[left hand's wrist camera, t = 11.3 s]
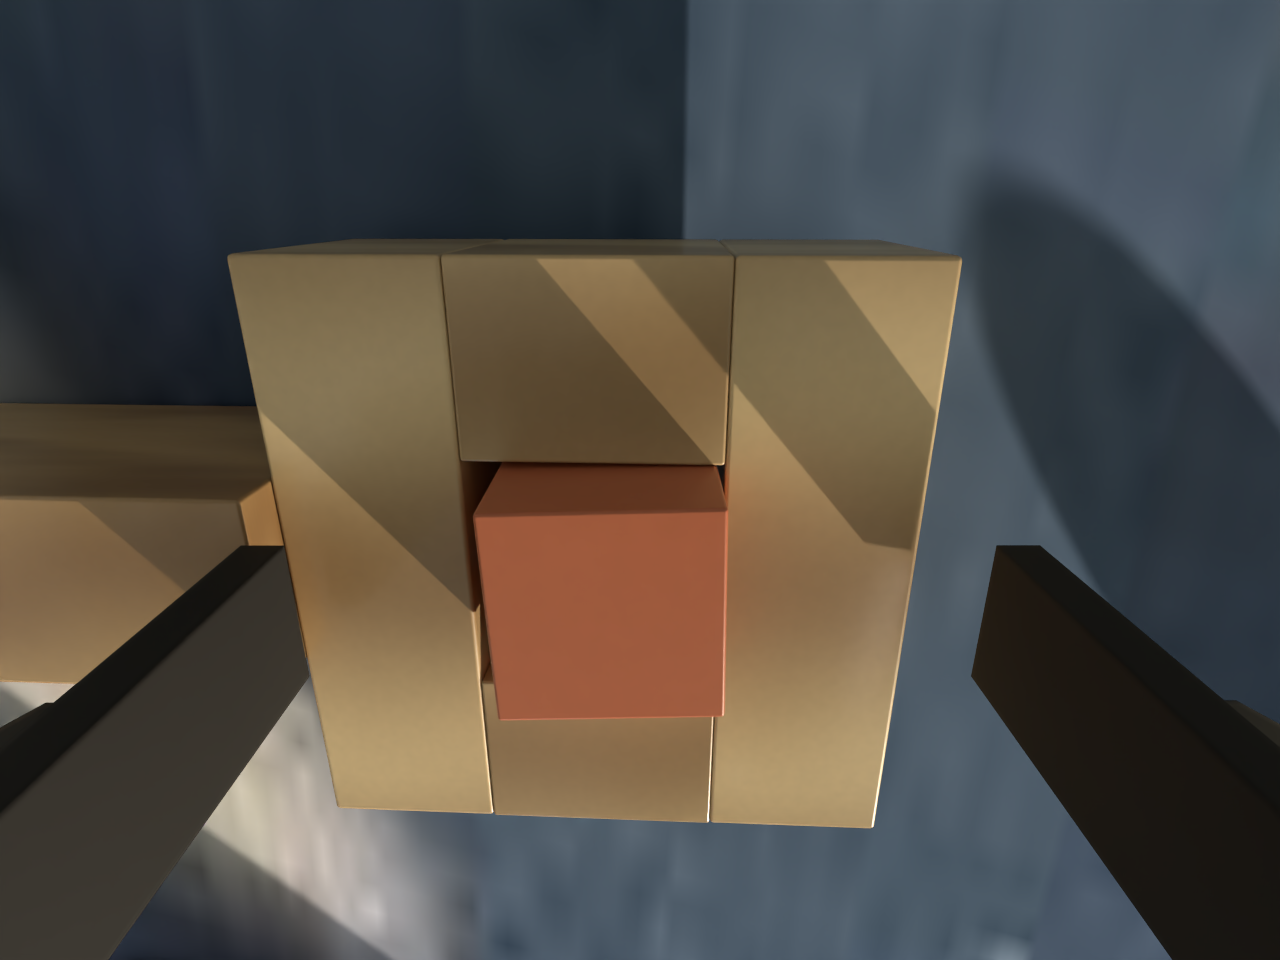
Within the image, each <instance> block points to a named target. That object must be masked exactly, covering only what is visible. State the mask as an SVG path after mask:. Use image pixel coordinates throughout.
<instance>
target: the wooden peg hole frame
mask: <svg viewBox="0 0 1280 960" xmlns="http://www.w3.org/2000/svg"><path fill="white" fill-rule="evenodd" d="M227 260H228V265H229V270H230V275H231V280H232V285H233V290H234V295H235V300H236V305H237V310H238V315H239V320H240V325H241V330H242V334H243V339H244V344H245V349H246V354H247V359H248V364H249V369H250V374H251V379H252V384H253V389H254V394H255V399H256V404H257V406H182V405H103V404H25V403H0V681H1V682H34V683H66V684H77V683H78V682H79V681H80V680H81V679H83V678H84V677H85V676H86V675H87V674H88V673H90V672H91V671H92V670H93V669H94V668H96V667H97V666H98V665H99V664H100V663H102V662H103V661H104V660H105V659H106V658H107V657H109V656H110V655H111V654H112V653H113V652H115V651H116V650H117V649H118V648H119V647H121V646H122V645H123V644H124V643H125V642H127V641H128V640H129V639H130V638H131V637H132V636H134V635H135V634H136V633H137V632H138V631H140V630H141V629H142V628H143V627H144V626H146V625H147V624H148V623H149V622H150V621H151V620H153V619H154V618H155V617H156V616H157V615H159V614H160V613H161V612H162V611H163V610H165V609H166V608H167V607H168V606H169V605H171V604H172V603H173V602H174V601H175V600H176V599H178V598H179V597H180V596H181V595H182V594H184V593H185V592H186V591H187V590H188V589H190V588H191V587H192V586H193V585H194V584H196V583H197V582H198V581H199V580H200V579H201V578H203V577H204V576H205V575H206V574H207V573H209V572H210V571H211V570H212V569H213V568H215V567H216V566H217V565H218V564H219V563H220V562H222V561H223V560H224V559H225V558H226V557H228V556H229V555H230V554H231V553H232V552H234V551H235V550H236V549H237V548H238V547H240V546H241V545H284V548H285V553H286V558H287V563H288V569H289V574H290V579H291V584H292V589H293V594H294V599H295V605H296V610H297V615H298V620H299V625H300V630H301V635H302V640H303V646H304V651H305V656H306V658H308V662H309V667H310V672H311V677H312V682H313V687H314V692H315V697H316V702H317V707H318V712H319V717H320V722H321V727H322V732H323V737H324V742H325V747H326V752H327V757H328V762H329V767H330V772H331V777H332V782H333V787H334V792H335V797H336V802H337V806H338V807H340V808H358V809H384V810H411V811H437V812H463V813H489V814H490V813H493V812H495V814H497V815H523V816H550V817H576V818H602V819H628V820H654V821H680V822H706V823H707V822H708V821H709V818H710V820H711V821H712V822H723V823H749V824H775V825H802V826H828V827H854V828H872V827H873V826H874V820H875V814H876V808H877V801H878V795H879V789H880V782H881V776H882V769H883V763H884V757H885V750H886V744H887V737H888V731H889V725H890V718H891V712H892V706H893V699H894V693H895V686H896V680H897V674H898V667H899V661H900V654H901V648H902V642H903V635H904V629H905V623H906V616H907V610H908V603H909V597H910V591H911V584H912V578H913V571H914V565H915V559H916V552H917V546H918V539H919V533H920V527H921V520H922V514H923V508H924V501H925V495H926V488H927V482H928V476H929V469H930V463H931V456H932V450H933V444H934V437H935V431H936V425H937V418H938V412H939V405H940V399H941V393H942V386H943V380H944V373H945V367H946V361H947V354H948V348H949V342H950V335H951V329H952V322H953V316H954V310H955V303H956V297H957V290H958V284H959V278H960V271H961V265H962V259H961V257H959V256H957V255H952V254H947V253H942V252H937V251H932V250H927V249H922V248H917V247H912V246H907V245H901V244H896V243H891V242H886V241H881V240H720V241H718V240H715V239H507V240H503V239H348V240H340V241H331V242H323V243H314V244H306V245H298V246H289V247H281V248H273V249H264V250H256V251H248V252H239V253H232V254H230V255H228V259H227ZM502 462H552V463H614V464H676V465H717V469H718V473H719V477H720V481H721V484H722V488H723V492H724V496H725V500H726V504H727V507H728V561H727V618H726V674H725V713H724V716H722V717H676V718H617V719H557V720H499V719H498V715H497V707H496V699H495V691H494V683H493V675H492V667H491V659H490V651H489V643H488V635H487V627H486V618H485V610H484V602H483V594H482V586H481V578H480V570H479V562H478V554H477V546H476V538H475V530H474V522H473V514H474V512H475V511H476V509H477V507H478V505H479V503H480V501H481V500H482V498H483V496H484V494H485V492H486V491H487V489H488V487H489V485H490V483H491V482H492V480H493V478H494V476H495V474H496V473H497V471H498V469H499V467H500V465H501V464H502Z"/></svg>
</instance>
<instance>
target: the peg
mask: <svg viewBox="0 0 1280 960" xmlns="http://www.w3.org/2000/svg"><path fill="white" fill-rule="evenodd" d="M473 522H474V530H475V538H476V546H477V554H478V562H479V570H480V578H481V586H482V594H483V602H484V610H485V618H486V627H487V635H488V643H489V651H490V659H491V667H492V675H493V683H494V691H495V699H496V707H497V715H498V719H499V720H557V719H617V718H676V717H722V716H724V713H725V674H726V618H727V561H728V507H727V504H726V500H725V496H724V492H723V488H722V484H721V481H720V477H719V473H718V469H717V465H676V464H614V463H552V462H502V464H501V465H500V467H499V469H498V471H497V473H496V474H495V476H494V478H493V480H492V482H491V483H490V485H489V487H488V489H487V491H486V492H485V494H484V496H483V498H482V500H481V501H480V503H479V505H478V507H477V509H476V511H475V512H474V514H473Z"/></svg>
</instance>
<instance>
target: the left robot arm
mask: <svg viewBox="0 0 1280 960" xmlns="http://www.w3.org/2000/svg"><path fill="white" fill-rule="evenodd" d="M308 677H309V671H308V666H307V661H306V656H305V651H304V646H303V640H302V635H301V630H300V625H299V620H298V615H297V610H296V605H295V599H294V594H293V589H292V584H291V579H290V574H289V569H288V563H287V558H286V553H285V548H284V545H241V546H240V547H238V548H237V549H236V550H235V551H234V552H232V553H231V554H230V555H229V556H228V557H226V558H225V559H224V560H223V561H222V562H220V563H219V564H218V565H217V566H216V567H215V568H213V569H212V570H211V571H210V572H209V573H207V574H206V575H205V576H204V577H203V578H201V579H200V580H199V581H198V582H197V583H196V584H194V585H193V586H192V587H191V588H190V589H188V590H187V591H186V592H185V593H184V594H182V595H181V596H180V597H179V598H178V599H176V600H175V601H174V602H173V603H172V604H171V605H169V606H168V607H167V608H166V609H165V610H163V611H162V612H161V613H160V614H159V615H157V616H156V617H155V618H154V619H153V620H151V621H150V622H149V623H148V624H147V625H146V626H144V627H143V628H142V629H141V630H140V631H138V632H137V633H136V634H135V635H134V636H132V637H131V638H130V639H129V640H128V641H127V642H125V643H124V644H123V645H122V646H121V647H119V648H118V649H117V650H116V651H115V652H113V653H112V654H111V655H110V656H109V657H107V658H106V659H105V660H104V661H103V662H102V663H100V664H99V665H98V666H97V667H96V668H94V669H93V670H92V671H91V672H90V673H88V674H87V675H86V676H85V677H84V678H83V679H81V680H80V681H79V682H78V683H77V684H75V685H74V686H73V687H72V688H71V689H69V690H68V691H67V692H66V693H65V694H63V695H62V696H61V697H60V698H59V699H58V700H56V701H55V702H54V703H44V704H43V705H41V706H39V707H37V708H35V709H33V710H32V711H30V712H28V713H26V714H24V715H22V716H21V717H19V718H17V719H15V720H13V721H12V722H10V723H8V724H6V725H4V726H2V727H1V728H0V960H108V959H109V958H110V957H111V955H112V954H113V952H114V951H115V950H116V948H117V947H118V945H119V944H120V942H121V941H122V940H123V938H124V937H125V935H126V934H127V933H128V931H129V930H130V928H131V927H132V926H133V924H134V923H135V921H136V920H137V919H138V917H139V916H140V914H141V913H142V911H143V910H144V909H145V907H146V906H147V904H148V903H149V902H150V900H151V899H152V897H153V896H154V895H155V893H156V892H157V890H158V889H159V887H160V886H161V885H162V883H163V882H164V880H165V879H166V878H167V876H168V875H169V873H170V872H171V871H172V869H173V868H174V866H175V865H176V864H177V862H178V861H179V859H180V858H181V856H182V855H183V854H184V852H185V851H186V849H187V848H188V847H189V845H190V844H191V842H192V841H193V840H194V838H195V837H196V835H197V834H198V833H199V831H200V830H201V828H202V827H203V825H204V824H205V823H206V821H207V820H208V818H209V817H210V816H211V814H212V813H213V811H214V810H215V809H216V807H217V806H218V804H219V803H220V802H221V800H222V799H223V797H224V796H225V794H226V793H227V792H228V790H229V789H230V787H231V786H232V785H233V783H234V782H235V780H236V779H237V778H238V776H239V775H240V773H241V772H242V770H243V769H244V768H245V766H246V765H247V763H248V762H249V761H250V759H251V758H252V756H253V755H254V754H255V752H256V751H257V749H258V748H259V747H260V745H261V744H262V742H263V741H264V739H265V738H266V737H267V735H268V734H269V732H270V731H271V730H272V728H273V727H274V725H275V724H276V723H277V721H278V720H279V718H280V717H281V716H282V714H283V713H284V711H285V710H286V708H287V707H288V706H289V704H290V703H291V701H292V700H293V699H294V697H295V696H296V694H297V693H298V692H299V690H300V689H301V687H302V686H303V685H304V683H305V682H306V680H307V679H308ZM971 677H972V678H973V679H974V681H975V682H976V684H977V685H978V686H979V688H980V689H981V691H982V692H983V694H984V695H985V696H986V698H987V699H988V701H989V702H990V703H991V705H992V706H993V708H994V709H995V710H996V712H997V713H998V715H999V716H1000V717H1001V719H1002V720H1003V722H1004V723H1005V725H1006V726H1007V727H1008V729H1009V730H1010V732H1011V733H1012V734H1013V736H1014V737H1015V739H1016V740H1017V741H1018V743H1019V744H1020V746H1021V747H1022V749H1023V750H1024V751H1025V753H1026V754H1027V756H1028V757H1029V758H1030V760H1031V761H1032V763H1033V764H1034V765H1035V767H1036V768H1037V770H1038V771H1039V772H1040V774H1041V775H1042V777H1043V778H1044V780H1045V781H1046V782H1047V784H1048V785H1049V787H1050V788H1051V789H1052V791H1053V792H1054V794H1055V795H1056V796H1057V798H1058V799H1059V801H1060V802H1061V803H1062V805H1063V806H1064V808H1065V809H1066V811H1067V812H1068V813H1069V815H1070V816H1071V818H1072V819H1073V820H1074V822H1075V823H1076V825H1077V826H1078V827H1079V829H1080V830H1081V832H1082V833H1083V835H1084V836H1085V837H1086V839H1087V840H1088V842H1089V843H1090V844H1091V846H1092V847H1093V849H1094V850H1095V851H1096V853H1097V854H1098V856H1099V857H1100V858H1101V860H1102V861H1103V863H1104V864H1105V866H1106V867H1107V868H1108V870H1109V871H1110V873H1111V874H1112V875H1113V877H1114V878H1115V880H1116V881H1117V882H1118V884H1119V885H1120V887H1121V888H1122V889H1123V891H1124V892H1125V894H1126V895H1127V897H1128V898H1129V899H1130V901H1131V902H1132V904H1133V905H1134V906H1135V908H1136V909H1137V911H1138V912H1139V913H1140V915H1141V916H1142V918H1143V919H1144V921H1145V922H1146V923H1147V925H1148V926H1149V928H1150V929H1151V930H1152V932H1153V933H1154V935H1155V936H1156V937H1157V939H1158V940H1159V942H1160V943H1161V944H1162V946H1163V947H1164V949H1165V950H1166V952H1167V953H1168V954H1169V956H1170V957H1171V959H1172V960H1280V724H1278V723H1277V722H1275V721H1273V720H1271V719H1269V718H1267V717H1266V716H1264V715H1262V714H1260V713H1258V712H1256V711H1254V710H1253V709H1251V708H1249V707H1247V706H1245V705H1243V704H1242V703H1240V702H1238V701H1236V700H1223V699H1222V698H1221V697H1220V696H1218V695H1217V694H1216V693H1215V692H1214V691H1212V690H1211V689H1210V688H1209V687H1208V686H1206V685H1205V684H1204V683H1203V682H1202V681H1201V680H1199V679H1198V678H1197V677H1196V676H1195V675H1193V674H1192V673H1191V672H1190V671H1189V670H1187V669H1186V668H1185V667H1184V666H1183V665H1181V664H1180V663H1179V662H1178V661H1177V660H1176V659H1174V658H1173V657H1172V656H1171V655H1170V654H1168V653H1167V652H1166V651H1165V650H1164V649H1162V648H1161V647H1160V646H1159V645H1158V644H1157V643H1155V642H1154V641H1153V640H1152V639H1151V638H1149V637H1148V636H1147V635H1146V634H1145V633H1143V632H1142V631H1141V630H1140V629H1139V628H1137V627H1136V626H1135V625H1134V624H1133V623H1132V622H1130V621H1129V620H1128V619H1127V618H1126V617H1124V616H1123V615H1122V614H1121V613H1120V612H1118V611H1117V610H1116V609H1115V608H1114V607H1113V606H1111V605H1110V604H1109V603H1108V602H1107V601H1105V600H1104V599H1103V598H1102V597H1101V596H1099V595H1098V594H1097V593H1096V592H1095V591H1093V590H1092V589H1091V588H1090V587H1089V586H1088V585H1086V584H1085V583H1084V582H1083V581H1082V580H1080V579H1079V578H1078V577H1077V576H1076V575H1074V574H1073V573H1072V572H1071V571H1070V570H1069V569H1067V568H1066V567H1065V566H1064V565H1063V564H1061V563H1060V562H1059V561H1058V560H1057V559H1055V558H1054V557H1053V556H1052V555H1051V554H1049V553H1048V552H1047V551H1046V550H1045V549H1044V548H1042V547H1041V546H1040V545H997V546H996V551H995V557H994V562H993V567H992V572H991V577H990V582H989V587H988V593H987V598H986V603H985V608H984V613H983V618H982V623H981V628H980V634H979V639H978V644H977V649H976V654H975V659H974V664H973V669H972V675H971Z"/></svg>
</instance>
